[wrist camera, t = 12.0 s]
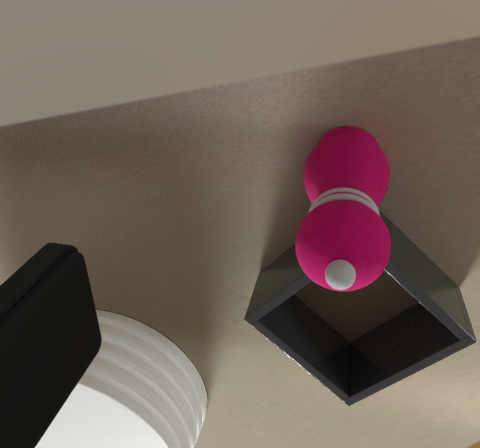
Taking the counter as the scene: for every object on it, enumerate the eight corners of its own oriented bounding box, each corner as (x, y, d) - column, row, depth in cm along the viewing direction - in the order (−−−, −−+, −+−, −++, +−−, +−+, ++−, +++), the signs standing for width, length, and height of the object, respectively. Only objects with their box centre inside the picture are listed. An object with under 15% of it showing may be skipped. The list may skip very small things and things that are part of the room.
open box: (360, 191, 44) (360, 232, 37) (459, 287, 46) (477, 342, 40) (258, 272, 51) (243, 319, 44) (349, 351, 54) (348, 406, 47)
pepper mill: (308, 120, 41) (274, 225, 24) (389, 120, 40) (414, 231, 23) (308, 191, 45) (278, 326, 28) (383, 193, 43) (400, 338, 26)
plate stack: (130, 283, 56) (83, 348, 47) (243, 427, 65) (223, 507, 56) (-3, 339, 68) (-63, 400, 58) (108, 455, 77) (72, 525, 67)
